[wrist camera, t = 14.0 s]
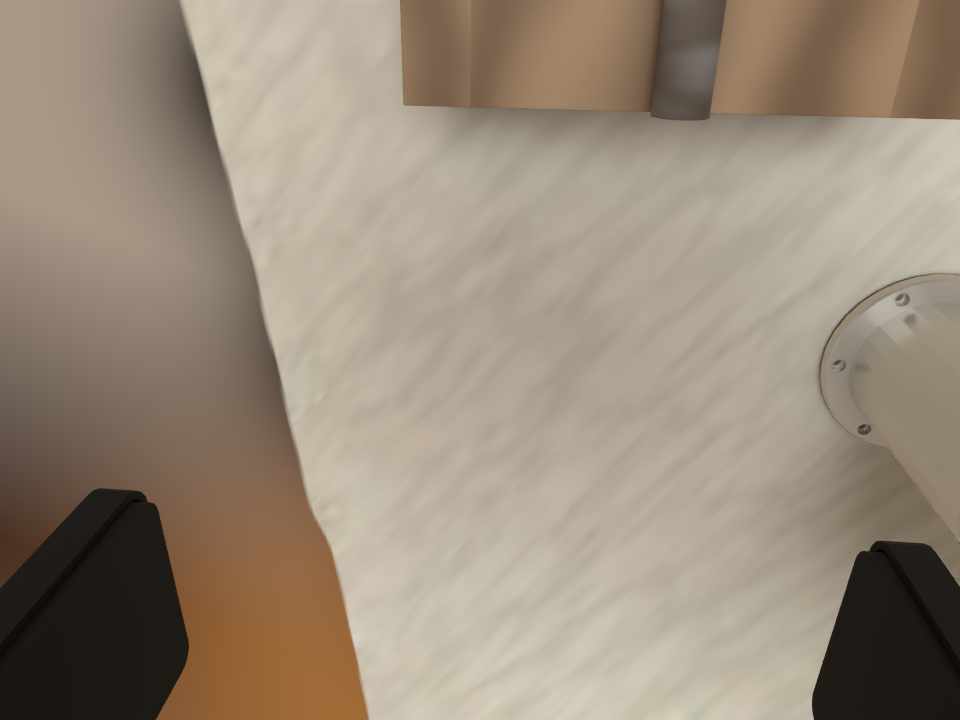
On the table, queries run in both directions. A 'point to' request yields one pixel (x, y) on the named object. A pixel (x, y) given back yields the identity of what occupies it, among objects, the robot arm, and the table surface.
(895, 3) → the shelf
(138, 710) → the robot arm
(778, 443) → the table surface
